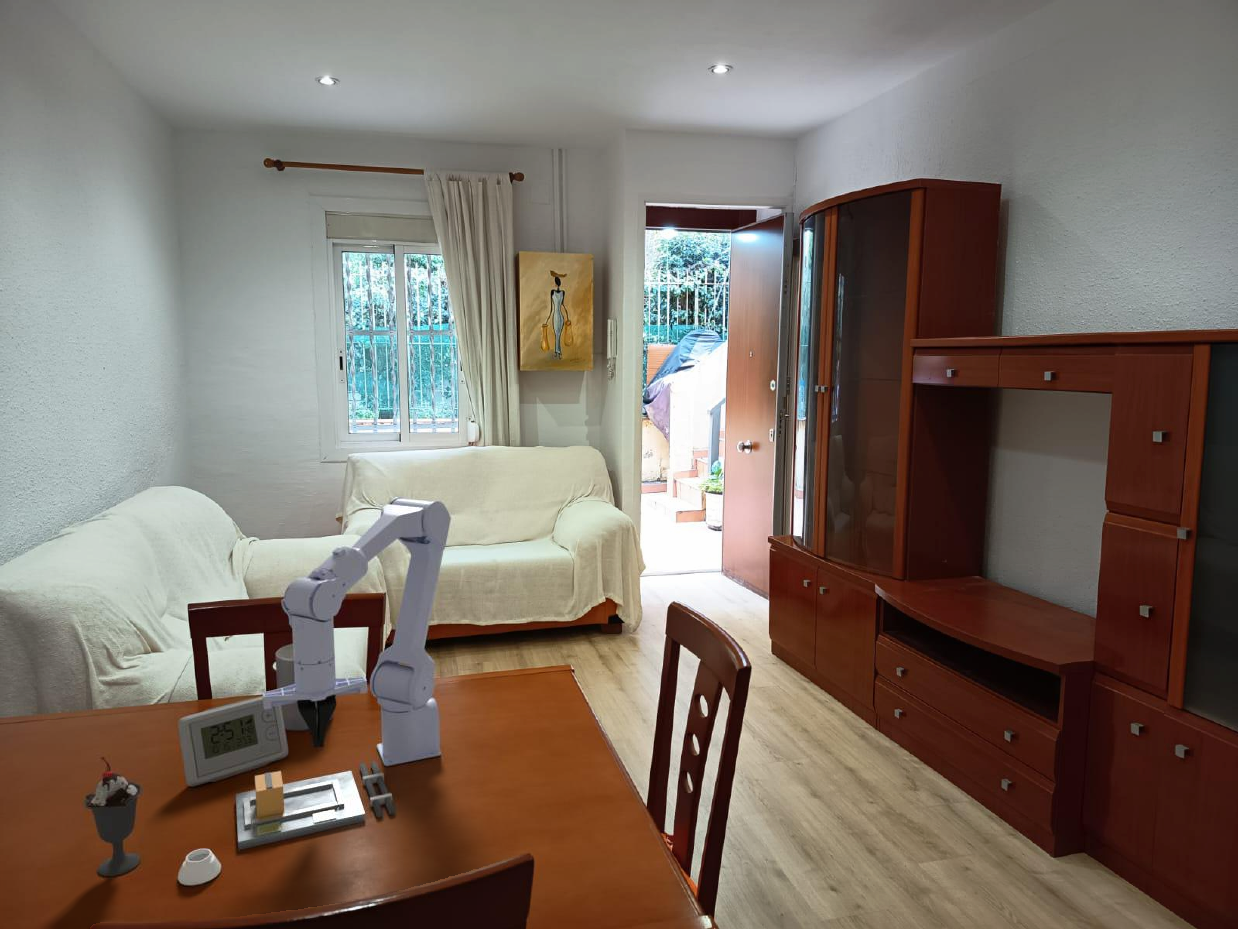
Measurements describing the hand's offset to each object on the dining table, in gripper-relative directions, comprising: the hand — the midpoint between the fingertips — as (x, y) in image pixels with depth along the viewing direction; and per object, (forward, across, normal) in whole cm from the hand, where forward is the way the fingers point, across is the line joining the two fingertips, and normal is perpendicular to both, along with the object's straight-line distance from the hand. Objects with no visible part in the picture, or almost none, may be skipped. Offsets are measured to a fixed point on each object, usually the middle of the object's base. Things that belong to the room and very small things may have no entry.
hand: (318, 744), depth 124 cm
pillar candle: (+10, +1, +33) cm, 35 cm away
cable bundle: (+10, +8, +1) cm, 13 cm away
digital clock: (+10, -11, +18) cm, 24 cm away
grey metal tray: (+10, -3, 0) cm, 10 cm away
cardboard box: (+9, -7, 0) cm, 11 cm away
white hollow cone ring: (+10, -16, -11) cm, 22 cm away
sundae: (+10, -26, -4) cm, 28 cm away
